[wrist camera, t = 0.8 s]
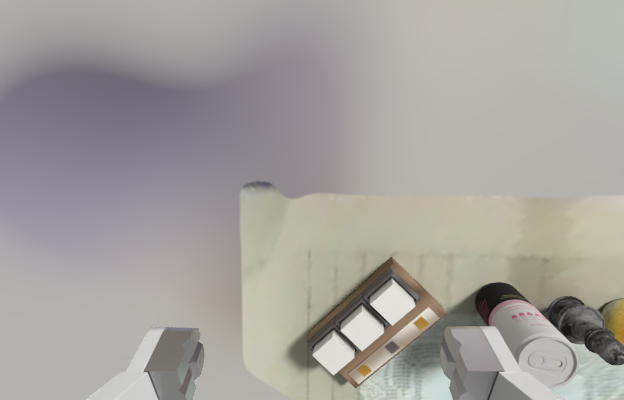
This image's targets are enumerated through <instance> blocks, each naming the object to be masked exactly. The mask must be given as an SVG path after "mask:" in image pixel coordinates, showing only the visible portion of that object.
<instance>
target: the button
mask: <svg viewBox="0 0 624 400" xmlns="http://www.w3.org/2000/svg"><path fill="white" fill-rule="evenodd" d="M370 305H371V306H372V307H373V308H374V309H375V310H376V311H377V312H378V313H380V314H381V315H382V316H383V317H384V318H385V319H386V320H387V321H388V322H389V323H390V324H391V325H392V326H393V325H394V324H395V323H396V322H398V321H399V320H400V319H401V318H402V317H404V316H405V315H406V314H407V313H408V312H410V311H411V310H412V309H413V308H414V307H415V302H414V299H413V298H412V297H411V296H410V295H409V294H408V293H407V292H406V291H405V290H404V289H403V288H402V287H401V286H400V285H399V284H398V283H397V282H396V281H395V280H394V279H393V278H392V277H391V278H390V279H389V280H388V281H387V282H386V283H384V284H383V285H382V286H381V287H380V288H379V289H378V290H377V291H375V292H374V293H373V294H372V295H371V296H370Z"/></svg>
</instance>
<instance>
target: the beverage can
mask: <svg viewBox="0 0 624 400" xmlns="http://www.w3.org/2000/svg"><path fill="white" fill-rule="evenodd" d="M476 309H477V311H478V313H479V314H480V316H481V317H482V319H483V320H484V322H485V323H486V325H487V326H495V327H496V328H497V329H498V331H499V332H500V334H501V336H502V338H503V339H504V341H505V343H506V345H507V346H508V348H509V350H510V351H511V353H512V355H513V357H514V358H515V360H516V362H517V364H518V365H519V367H520V369H521V371H522V372H528V373H529V374H531V375H532V376H533V377H535V378H536V379H537V380H538V381H540V382H541V383H542V384H544V385H545V386H546V387H548V388H556V387H559V386H562V385H564V384H566V383H568V382H569V381H570V380H572V379H573V378H574V376H575V375H576V373H577V371H578V368H579V357H578V354H577V352H576V351H575V348H574V347H573V345H572V344H571V343H570V342H569V341H568V340H567V339H566V338H565V337H564V336H563V335H562V334H561V333H560V332H559V331H558V330H557V329H556V328H555V327H554V326H553V325H552V324H551V323H550V322H549V321H548V320H547V319H546V318H545V317H544V316H543V315H542V314H541V313H540V312H539V311H538V310H537V309H536V308H535V307H534V306H533V305H532V304H531V303H530V302H529V301H528V300H527V299H526V298H525V297H524V296H522V295H521V294H520V293H519V292H518V291H517V290H516V289H515V288H514V287H513V286H511V285H509V284H506V283H501V282H497V283H491V284H489V285H487V286H485V287H483V288H482V289H481V290H480V291H479V293H478V295H477V297H476Z"/></svg>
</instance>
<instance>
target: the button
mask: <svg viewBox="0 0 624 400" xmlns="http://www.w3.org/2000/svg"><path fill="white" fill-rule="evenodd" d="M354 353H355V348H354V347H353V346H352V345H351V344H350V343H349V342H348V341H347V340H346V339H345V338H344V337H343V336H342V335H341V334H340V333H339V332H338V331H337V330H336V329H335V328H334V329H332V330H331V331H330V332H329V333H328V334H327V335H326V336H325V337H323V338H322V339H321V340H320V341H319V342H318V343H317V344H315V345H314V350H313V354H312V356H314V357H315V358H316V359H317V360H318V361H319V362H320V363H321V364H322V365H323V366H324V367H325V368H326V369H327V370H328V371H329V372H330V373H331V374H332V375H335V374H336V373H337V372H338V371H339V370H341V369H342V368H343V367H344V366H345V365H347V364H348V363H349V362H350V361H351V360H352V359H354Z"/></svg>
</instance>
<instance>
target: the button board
mask: <svg viewBox="0 0 624 400" xmlns="http://www.w3.org/2000/svg"><path fill="white" fill-rule="evenodd" d="M391 277H392V278H393V279H394V280H395V281H396V282H397V283H398V284H399V285H400V286H401V287H402V288H403V289H404V290H405V291H406V292H407V293H408V294H409V295H410V296H411V297H412V298H413V299H414V302H415V307H414V308H413V309H412V310H411V311H410V312H408V313H407V314H406V315H405V316H404V317H402V318H401V319H400V320H399V321H398V322H396V323H395V324H394V325H393V326H392V325H391V324H390V323H389V322H388V321H387V320H386V319H385V318H384V317H383V316H382V315H381V314H380V313H378V312H377V311H376V310H375V309H374V308H373V307H372V306H371V305H370V296H371V295H372V294H373V293H374V292H375V291H377V290H378V289H379V288H380V287H381V286H382V285H383V284H384V283H386V282H387V281H388V280H389V279H390V278H391ZM361 304H363V305H364V306H365V307H366V308H367V309H368V310H369V311H371V312H372V313H373V314H374V315H375V316H376V317H377V318H378V319H379V320H380V321H381V322H382V323H383V327H384V333H383V334H382V335H381V336H380V337H379V338H377V339H376V340H375V341H374V342H373V343H371V344H370V345H369V346H368V347H367V348H366V349H364V350H363V351H361V350H360V349H359V348H358V347H357V346H356V345H355V344H354V343H353V342H352V341H351V340H350V339H349V338H348V337H347V336H346V335H345V334H343V333H342V332H341V331H340V329H341V321H343V320H344V319H345V318H346V317H347V316H348V315H349V314H351V313H352V312H353V311H354V310H355V309H356V308H357V307H358V306H360V305H361ZM445 315H446V314H445V312H444V310H443V308H442V305H441V304H440V303H438V302H437V301H436V300H435V299H434V298H433V297H432V296H431V295H430V294H429V293H428V292H427V291H426V290H425V289H424V288H423V287H422V286H421V285H420V284H419V283H418V282H417V281H416V280H415V279H414V278H413V277H412V276H411V275H410V274H408V273H407V272H406V271H405V270H404V269H403V268H402V267H401V266H400V265H399V264H398V263H397V262H396V261H395V260H394V259H393V258H392V257H391V258H390V259H389V260H388V261H387V262H386V263H385V264H383V265H382V266H381V267H380V268H379V269H378V270H377V271H376V272H375V273H373V274H372V275H371V276H370V277H369V278H368V279H367V280H366V281H365V282H363V283H362V284H361V285H360V286H359V287H358V288H357V289H356V290H355V291H354V292H352V293H351V294H350V295H349V296H348V297H347V298H346V299H345V300H344V301H342V302H341V303H340V304H339V305H338V306H337V307H336V308H335V309H334V310H332V311H331V312H330V313H329V314H328V315H327V316H326V317H325V318H324V319H323V320H321V321H320V322H319V323H318V324H317V325H316V326H315V327H314V328H313V329H311V330H310V331H309V335H308V338H307V342H308V343H309V344H308V348H309V349H310V350H311V351H313V350H314V345H315V344H317V343H318V342H319V341H320V340H321V339H322V338H323V337H325V336H326V335H327V334H328V333H329V332H330V331H331V330H332V329H334V328H335V329H336V330H337V331H338V332H339V333H340V334H341V335H342V336H343V337H344V338H345V339H346V340H347V341H348V342H349V343H350V344H351V345H352V346H353V347H354V348H355V353H354V359H352V360H351V361H350V362H349V363H348V364H347V365H345V366H344V367H343V368H342V369H341V370H339V371H338V372H339V373H340V374H341V375H342V376H343V377H344V378H345V379H347V380H348V381H349V382H350V383H351V384H352V385H353V386H354V387H355V388H357V387H358V386H359V385H360V384H362V383H363V382H364V381H365V380H367V379H368V378H369V377H370V376H371V375H373V374H374V373H375V372H376V371H378V370H379V369H380V368H381V367H383V366H384V365H385V364H386V363H387V362H389V361H390V360H391V359H392V358H394V357H395V356H396V355H397V354H399V353H400V352H401V351H402V350H403V349H405V348H406V347H407V346H408V345H410V344H411V343H412V342H413V341H415V340H416V339H417V338H418V337H419V336H421V335H422V334H423V333H424V332H426V331H427V330H428V329H429V328H431V327H432V326H433V325H434V324H435V323H437V322H438V321H439V320H440V319H442V318H443V317H444V316H445Z"/></svg>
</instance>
